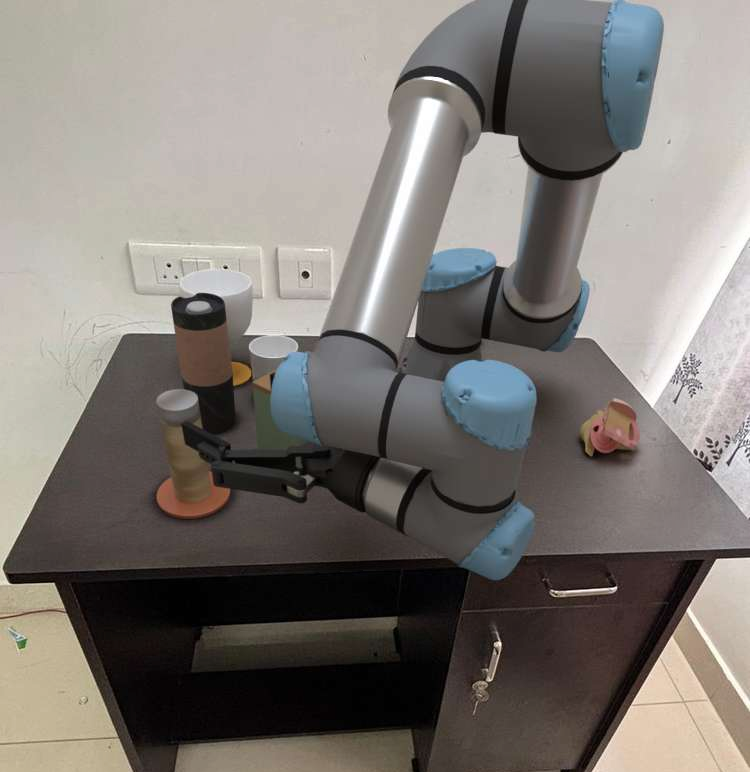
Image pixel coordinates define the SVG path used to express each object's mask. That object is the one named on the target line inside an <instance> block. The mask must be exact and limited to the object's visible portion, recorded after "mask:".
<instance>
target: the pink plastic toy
mask: <svg viewBox="0 0 750 772" xmlns="http://www.w3.org/2000/svg"><path fill="white" fill-rule="evenodd" d="M579 433H580V438H581V440H582V441H583V442H584V445H585V453H587V455H588V456H590V457H593V455H594V453H595V450H597V451H598V452H600V453H603V454H608V453H611V452H613V451H615V450H627V451H628V450H629V451H632V452H633V451H635V450H636V449H637V447H638V445H639V441H640V427H639V425H638V422H637V413H636V411H635V409H634V408H633V407H632V406H631V405H630V404H629V403H627V402H626V401H624V400H623V399H619V398H616V397H614V398H612V400H610V401H609V402H608V403H607V404H606V406H605V409H604V411H603V410H600V409H598V410H597V411H596V413H594V414H592V416H591V418H590V419H588V420H586V421H585V422H584V423H583V424H582V425H581V427H580V431H579Z"/></svg>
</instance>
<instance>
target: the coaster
mask: <svg viewBox="0 0 750 772" xmlns="http://www.w3.org/2000/svg"><path fill="white" fill-rule="evenodd" d="M209 476H210V483H211V494H210V495H209V497H208V498H206V499H205V500H203V501H201V502H197V503H184V502H181V501H179V500H178V499H177V498H176V497H175V494H174V489H173V484H172V479H171V476H170V477H169V478H167V479H166V480H164V482H163V481H162V483H161V485H160V486H159V487H158V489H157V492H156V502H157V505H158V508H160V510H161V511H162V512H163V513H165V514H166V515H168V516H171V517H173V518H176V519H182V520H196V519H201V518H205V517H209V516H210V515H213V514H215V513H217V512H219V511H220V510H222V508H224V507H225V506H226V505H227V504H228V502H229V500H230V498H231V489H228V488H222V487H216V486H215V485H214V484H213V477H212V470H209Z"/></svg>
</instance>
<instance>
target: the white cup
mask: <svg viewBox="0 0 750 772" xmlns="http://www.w3.org/2000/svg"><path fill="white" fill-rule="evenodd" d="M248 351H249V357H250V358H249V359H250V366H251V368H250V369H251V376H252V380H253V381H255V380H257V379H259V378H261V377H262V376H264V375H266V374H268V373H270V372H272V371H274V370H275V369H277V368H278V366H279V365H280V364H281V363H283V360H284V359H285V357H286V356H287V355H288V354H289V353H292V352H299V343H298V342H297V341H296V340H295V339H293V338H291V337H289V336H286V335H278V334H268V335H262V336H258V337H256V338H254V339H253V340H252V341H250V342H249V344H248ZM253 381H252V382H253Z"/></svg>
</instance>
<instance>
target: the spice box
mask: <svg viewBox="0 0 750 772" xmlns="http://www.w3.org/2000/svg"><path fill="white" fill-rule="evenodd" d="M308 352H310V353H313V352H314V351H308ZM276 371H277V369H275V370H274V371H272V372H270V373H268V374H266V375H264V376H262V377H261V378H259V379H257V380H255V381H252V383H251V386H252V396H253V407H254V408H253V410H254V421H255V433H256V445H257V450H287V449H288V448H289V447H290V446H302V445H303V444H304V443H306V442H308V440H304V439H301V438H298V437H295V436H292V435H289V434H286V433H284V432H282V431H281V430H279V428H278V427H277V425H276V424H275V422H274V421H273V418H272V414H271V407H270V398H271V385H270V374H272V373H273V372H275V373H276ZM296 467H297V468H303V467H302V465H301V458H300V457H296Z"/></svg>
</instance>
